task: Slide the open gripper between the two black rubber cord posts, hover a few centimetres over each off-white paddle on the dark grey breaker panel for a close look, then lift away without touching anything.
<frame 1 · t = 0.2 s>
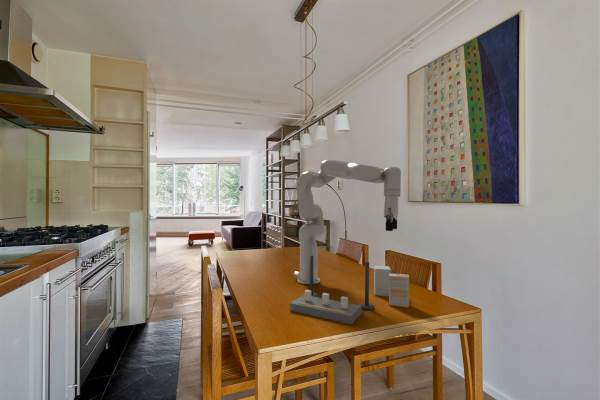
hand: (391, 229, 139), 31 cm above the table, tool pointing down, fingers open, 9 cm apart
paddle mid: (325, 298, 118), point 5 cm above the table, hinge at 0.0°
supplement box 2: (382, 294, 142), on the table
cord posts: (337, 302, 130), on the table
supplement box: (398, 305, 127), on the table
paddle left: (307, 295, 122), point 5 cm above the table, hinge at 0.0°
paddle right: (344, 302, 114), point 5 cm above the table, hinge at 0.0°
breaker panel: (325, 311, 118), on the table
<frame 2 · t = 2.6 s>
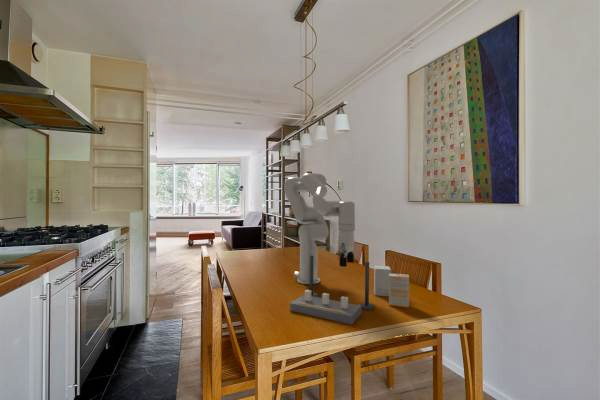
hand: (346, 264, 138), 15 cm above the table, tool pointing down, fingers open, 9 cm apart
nothing on the table moved.
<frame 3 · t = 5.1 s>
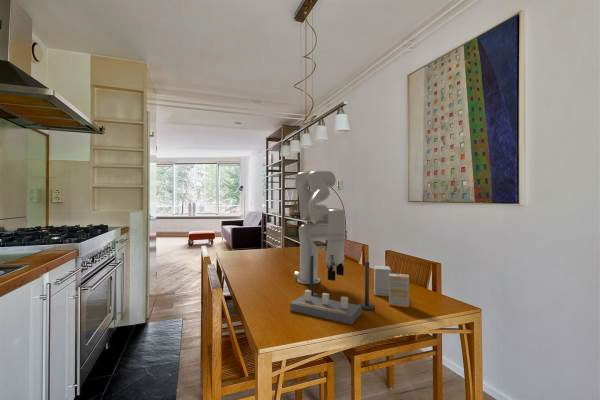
hand: (335, 277, 127), 12 cm above the table, tool pointing down, fingers open, 9 cm apart
nothing on the table moved.
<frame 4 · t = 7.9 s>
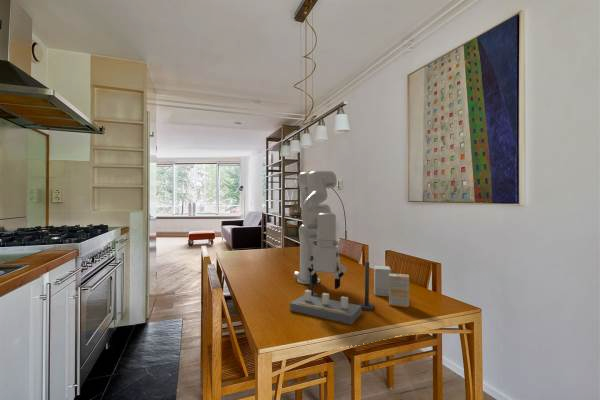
hand: (325, 286, 118), 10 cm above the table, tool pointing down, fingers open, 9 cm apart
nothing on the table moved.
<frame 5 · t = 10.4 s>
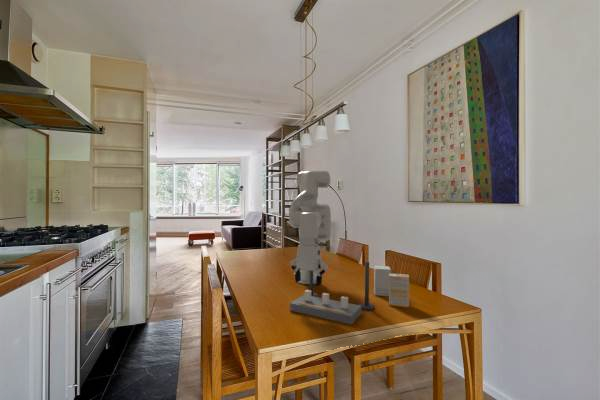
hand: (308, 283, 122), 10 cm above the table, tool pointing down, fingers open, 9 cm apart
nothing on the table moved.
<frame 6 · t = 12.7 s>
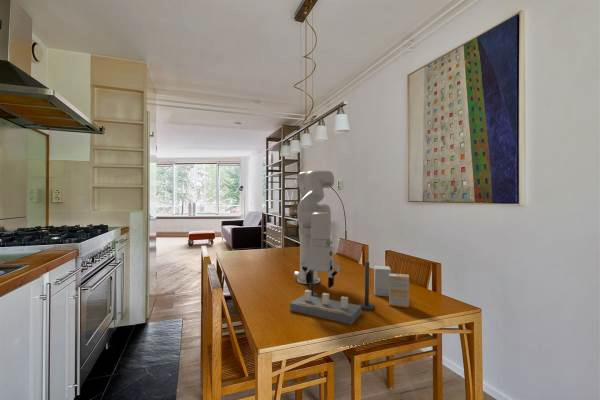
hand: (319, 285, 119), 10 cm above the table, tool pointing down, fingers open, 9 cm apart
nothing on the table moved.
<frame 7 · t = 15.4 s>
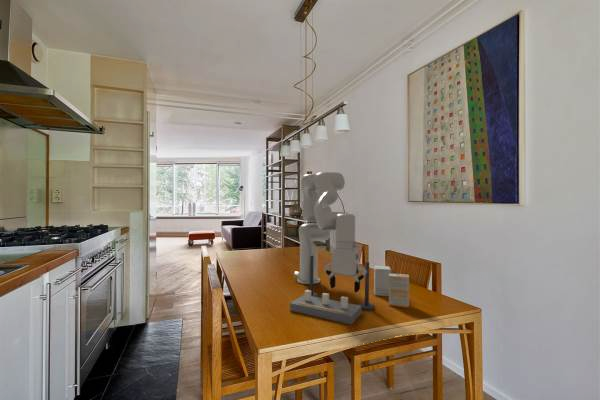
hand: (344, 289, 114), 10 cm above the table, tool pointing down, fingers open, 9 cm apart
nothing on the table moved.
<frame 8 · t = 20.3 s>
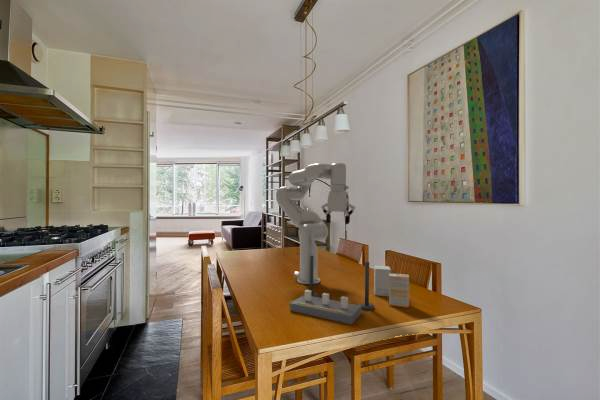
hand: (337, 223, 145), 33 cm above the table, tool pointing down, fingers open, 9 cm apart
nothing on the table moved.
at the end: paddle left at +0° (first picture: +0°); paddle mid at +0° (first picture: +0°); paddle right at +0° (first picture: +0°) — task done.
